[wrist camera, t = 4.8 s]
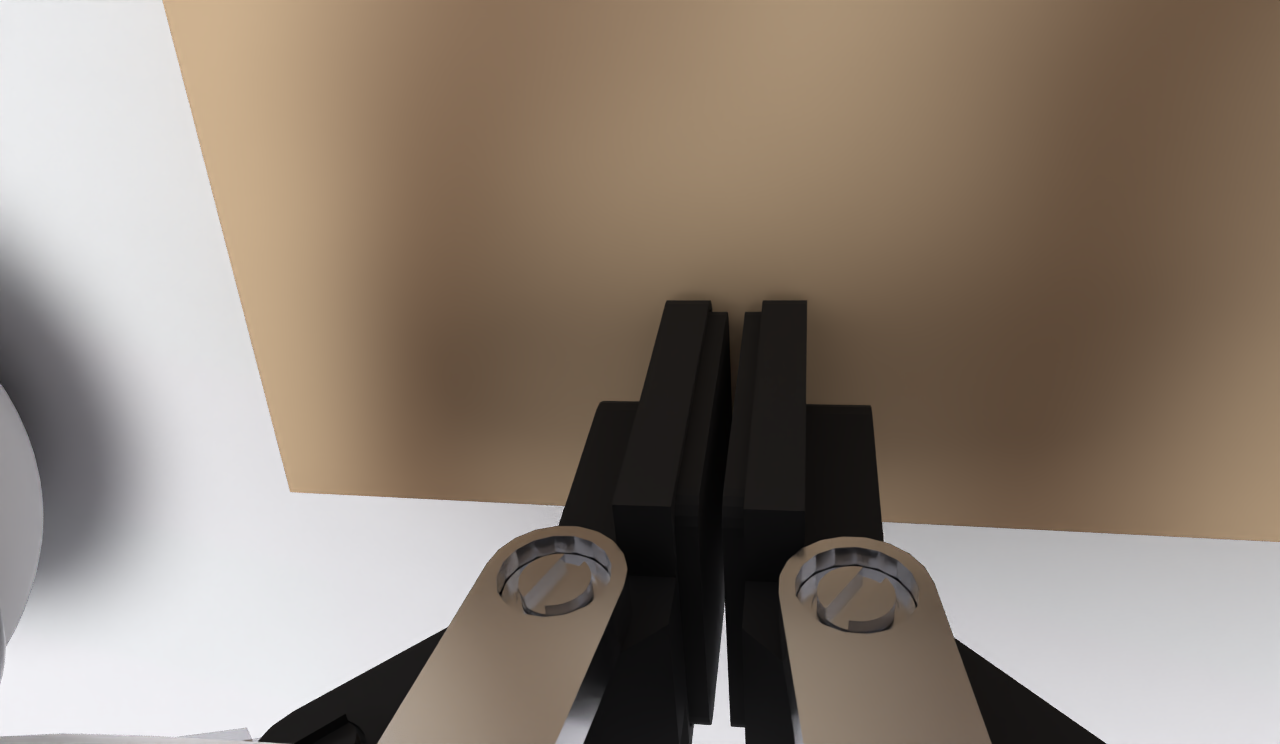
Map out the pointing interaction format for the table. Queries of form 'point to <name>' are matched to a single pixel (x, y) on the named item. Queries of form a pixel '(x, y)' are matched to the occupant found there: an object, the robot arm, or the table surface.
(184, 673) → the table surface
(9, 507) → the pump dispenser
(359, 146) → the plank
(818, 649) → the robot arm
